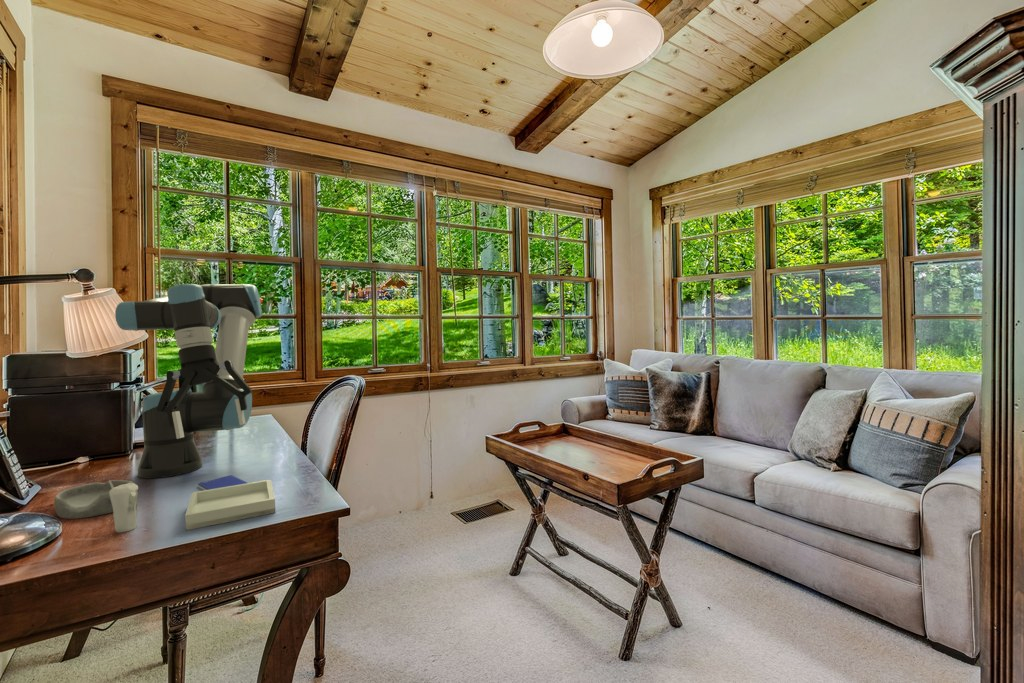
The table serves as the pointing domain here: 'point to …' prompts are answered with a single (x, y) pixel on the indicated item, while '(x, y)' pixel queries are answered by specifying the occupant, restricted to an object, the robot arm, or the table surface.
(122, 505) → the milkshake
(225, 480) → the hard drive
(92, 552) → the table surface
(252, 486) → the tray
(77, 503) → the dish
